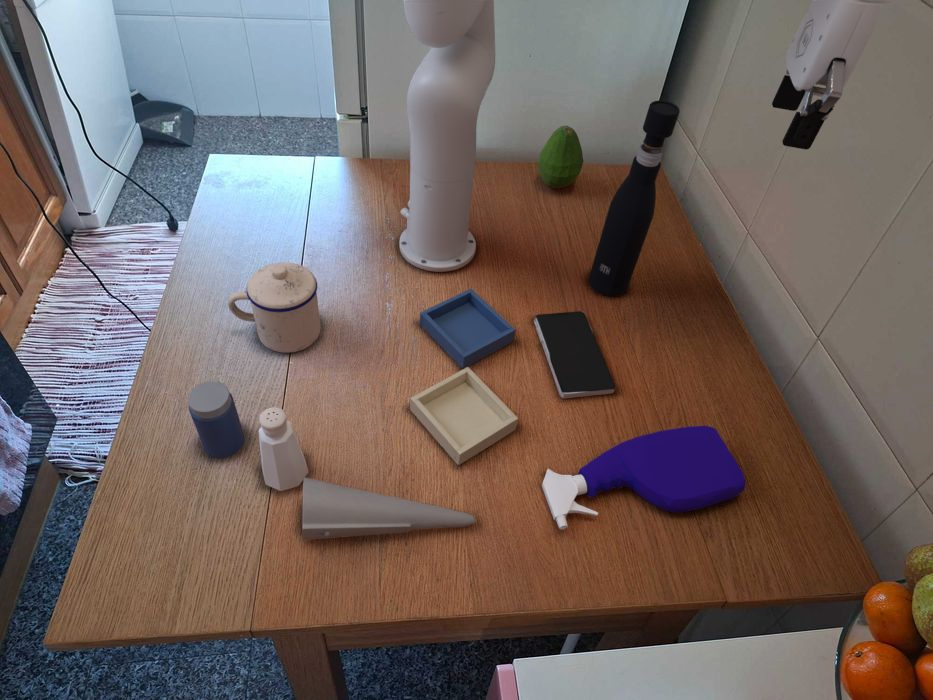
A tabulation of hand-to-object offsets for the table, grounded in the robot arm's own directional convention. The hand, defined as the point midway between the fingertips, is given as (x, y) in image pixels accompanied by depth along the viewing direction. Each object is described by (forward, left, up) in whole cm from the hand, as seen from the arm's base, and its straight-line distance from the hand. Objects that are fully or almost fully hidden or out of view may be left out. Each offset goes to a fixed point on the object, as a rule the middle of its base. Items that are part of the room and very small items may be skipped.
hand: (789, 126), depth 80 cm
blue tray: (-16, -35, -31) cm, 49 cm away
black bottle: (-12, -9, -31) cm, 34 cm away
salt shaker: (-10, -67, -31) cm, 75 cm away
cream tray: (-4, -45, -31) cm, 55 cm away
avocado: (-37, +3, -31) cm, 48 cm away
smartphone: (-4, -25, -31) cm, 40 cm away
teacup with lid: (-31, -57, -31) cm, 72 cm away
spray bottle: (+16, -33, -31) cm, 48 cm away
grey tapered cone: (+1, -60, -31) cm, 68 cm away
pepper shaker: (-18, -71, -31) cm, 80 cm away
